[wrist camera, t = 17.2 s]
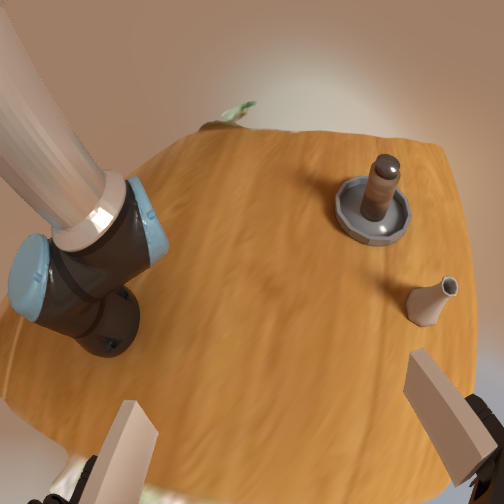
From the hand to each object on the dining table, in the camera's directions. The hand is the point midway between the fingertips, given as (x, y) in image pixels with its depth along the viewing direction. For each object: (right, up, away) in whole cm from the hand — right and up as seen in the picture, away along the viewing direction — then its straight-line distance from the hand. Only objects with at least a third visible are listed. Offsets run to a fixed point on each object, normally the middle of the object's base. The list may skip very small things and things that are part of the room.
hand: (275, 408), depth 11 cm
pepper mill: (+22, +15, +38) cm, 46 cm away
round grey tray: (+22, +15, +38) cm, 47 cm away
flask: (+28, -2, +28) cm, 40 cm away
